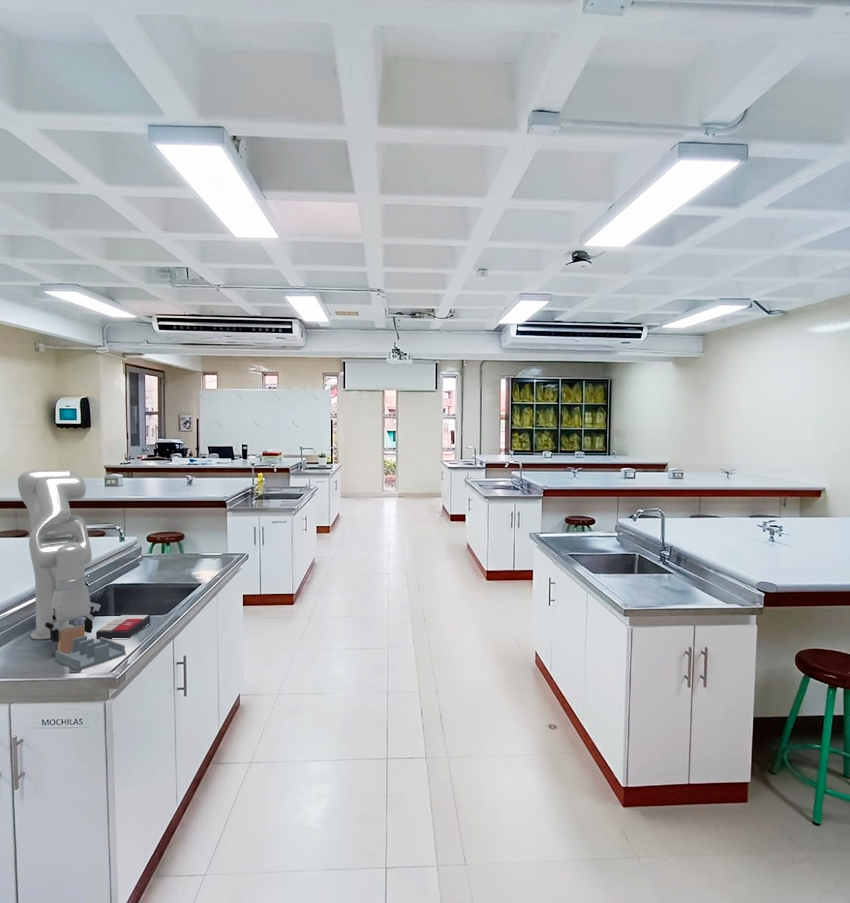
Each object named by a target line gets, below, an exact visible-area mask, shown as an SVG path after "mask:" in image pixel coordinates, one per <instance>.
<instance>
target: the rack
mask: <svg viewBox="0 0 850 903" xmlns="http://www.w3.org/2000/svg"><path fill="white" fill-rule="evenodd" d="M125 655H127V654H126V646H125V645H124V644H122V643H119V642H116V641H113V640H112V639H105V638H103V637H100V639H99V641H96V642H95V638H94V637H91V638H89V639H88V635H85V636H83V637H79V638H76V639H72V651H70V652H67V653H62V652H60V651H58V650H55V656H54V662H56V663H58V664H60V665H63V666H65V667H68V668H70V669H72V670H74V671H78V672H79V671H81V670H84V669H88V668H91V667H93V666H94V667H95V665H99V664H103V663H105V662H107V661H111V660H114V659H116V658H119V657H122V656H125Z"/></svg>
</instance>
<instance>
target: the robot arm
mask: <svg viewBox="0 0 850 903" xmlns="http://www.w3.org/2000/svg"><path fill="white" fill-rule="evenodd" d="M17 487H18V492H19V495H20V498H21V499H22V501H23V503H24V505H25V506H26V508H27V510H28V514H29V519H30V525H31V526H30V527H31V533H30V535H29V539H28V541H29V543H28V547H29V552H30V559H31V563H32V567H33V573H34V583H35V585H34V586H35V589H34V590H35V592H34V593H35V630H33V631H32V632H31V633H30V638H31V639H33V640H48V639H49V640H51V641H52V642H53V643H55V644H56V643H57V644H58V642H59V631H61V630H65V629H69V628H72V627H75V626H74V625H73V624H70V621H74V620H76V619H81V618H84V622H83V623H84V625H83V626H84V633H88V634H91V633H92V632H93V621H94V619H95V617H96V616H97V615H98V614H99V610H100V608H101V604H100V603H95V602H91V598H90V593H89V589H88V585H86V583H87V582H89V581H90V577H89V576H88V577H86V576H85V567H86V566H88V565H89V564H90V563H91V561H92V559H93V558H92V548H91V543H90V538H89V533H88V529H87V528H88V527H87V524H86V521H85V519H84V518H83V517H82V516H80V515H77V514H72V513H71V507H70V503H69V501H70V500H80V499H83V498H84V497H85V495H86V492H87V489H86V488H87V487H86V484H85V481H84V479H83V478H82V476H81V475H80V474H79V473H78V472H76V471H75V470H73V469H72V468H71V469H69V468H65V469H64V468H63V469H62V468H59V469H37V470H36V469H35V470H28V471H25V472H23V473H21V474H20V475H19V477H18V479H17ZM42 544H43V545H42ZM91 607H93V608H91ZM91 609H92V611H91Z"/></svg>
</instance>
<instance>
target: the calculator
mask: <svg viewBox="0 0 850 903" xmlns="http://www.w3.org/2000/svg"><path fill="white" fill-rule="evenodd" d="M149 623H150V624H151V616H150V615H149V614H121V615H120V616H117V618H114V619H113V620H111V621H109V622H108V623H107V624H105V625H104V626H102V627H100V628H99V629H98V630H97V631H96V632H95V634H96V635H95V637H96V640H100V637H103V638H105V639H108V640H113V639H112V638H129V639H130V638H132V637H133V636H135V635H136V634H138V633H139V632H140V631H139V630H141V629H142V628H143V627H145V626H146V625H147V624H149ZM143 629H144V628H143ZM143 629H142V630H143ZM142 630H141V631H142ZM138 631H139V632H138ZM137 632H138V633H137ZM135 633H136V634H135ZM134 634H135V635H134ZM132 635H133V636H132ZM131 636H132V637H131Z"/></svg>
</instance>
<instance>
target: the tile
mask: <svg viewBox="0 0 850 903" xmlns="http://www.w3.org/2000/svg"><path fill="white" fill-rule="evenodd" d="M83 636H86V635H85V627H84V625H82V624H80V625H76V626H74V627H72V628H69V629H65V630H61V631H59V642H57V651H60V652H62V653H65V654H68V653H71V652H72V639H76V638H79V637H83Z"/></svg>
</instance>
